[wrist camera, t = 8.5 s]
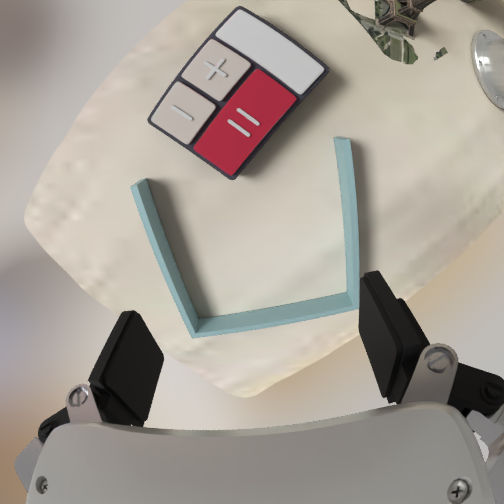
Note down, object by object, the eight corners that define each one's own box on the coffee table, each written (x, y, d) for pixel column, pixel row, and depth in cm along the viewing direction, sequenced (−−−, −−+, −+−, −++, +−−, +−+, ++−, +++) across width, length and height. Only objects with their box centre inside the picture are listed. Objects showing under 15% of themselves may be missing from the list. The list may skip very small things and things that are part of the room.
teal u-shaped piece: (340, 136, 27) (349, 139, 24) (352, 295, 37) (358, 308, 34) (140, 180, 29) (130, 186, 26) (195, 323, 39) (191, 338, 36)
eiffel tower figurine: (318, -15, 19) (356, -72, 7) (374, -38, 16) (424, -81, 4) (400, 82, 24) (477, 78, 12) (446, 52, 21) (519, 45, 9)
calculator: (142, 122, 23) (238, 1, 17) (157, 119, 27) (241, 14, 21) (232, 184, 26) (333, 68, 20) (235, 173, 30) (323, 73, 24)
